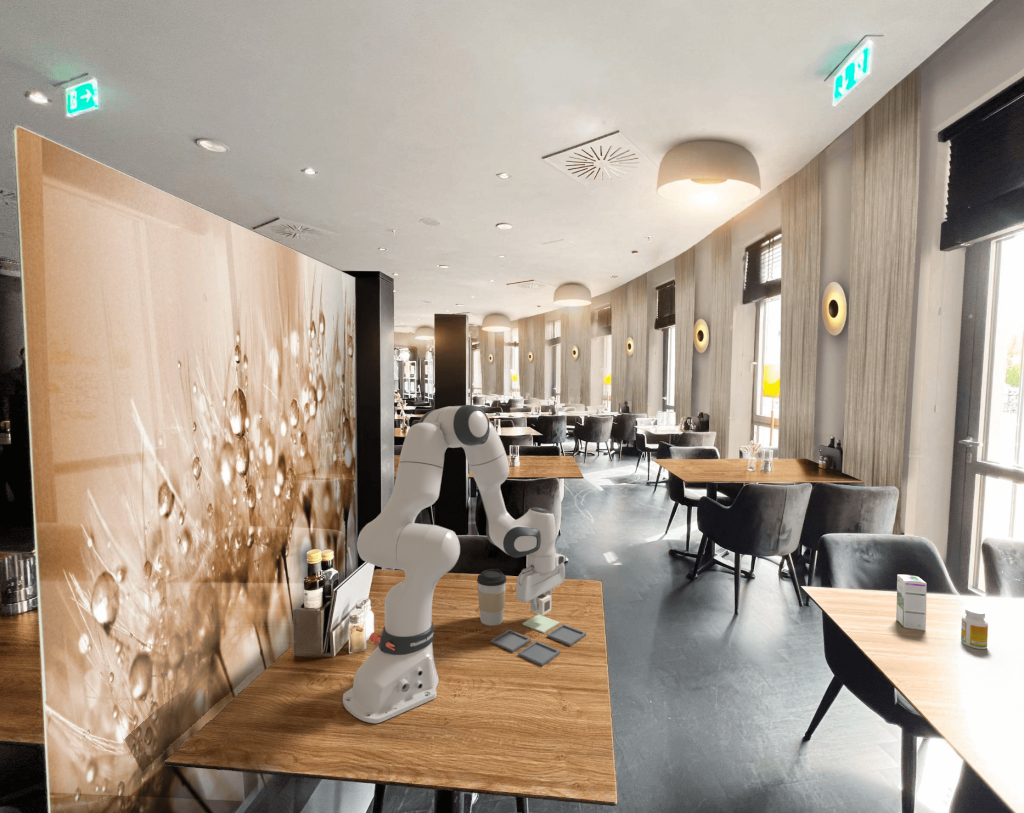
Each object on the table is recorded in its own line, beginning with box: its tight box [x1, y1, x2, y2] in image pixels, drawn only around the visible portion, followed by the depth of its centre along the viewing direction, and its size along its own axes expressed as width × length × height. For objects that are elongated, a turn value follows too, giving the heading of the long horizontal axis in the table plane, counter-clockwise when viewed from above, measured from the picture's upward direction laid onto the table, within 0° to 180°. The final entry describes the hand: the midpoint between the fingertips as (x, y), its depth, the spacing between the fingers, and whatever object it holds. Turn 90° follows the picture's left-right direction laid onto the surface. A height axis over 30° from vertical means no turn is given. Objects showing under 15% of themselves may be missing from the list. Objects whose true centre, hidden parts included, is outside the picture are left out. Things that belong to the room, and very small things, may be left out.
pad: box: [522, 614, 560, 634], centre depth 151 cm, size 8×8×1 cm
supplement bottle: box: [960, 607, 989, 650], centre depth 139 cm, size 5×5×10 cm
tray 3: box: [546, 623, 587, 647], centre depth 143 cm, size 8×8×1 cm
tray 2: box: [517, 640, 561, 667], centre depth 133 cm, size 8×8×1 cm
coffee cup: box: [476, 568, 507, 627], centre depth 153 cm, size 9×9×15 cm
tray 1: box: [490, 629, 532, 654], centre depth 140 cm, size 8×8×1 cm
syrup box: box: [895, 574, 927, 631], centre depth 151 cm, size 6×6×14 cm
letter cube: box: [530, 593, 553, 616], centre depth 151 cm, size 4×5×5 cm
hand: (540, 606), depth 151 cm, fingers closed on letter cube, 4 cm apart
